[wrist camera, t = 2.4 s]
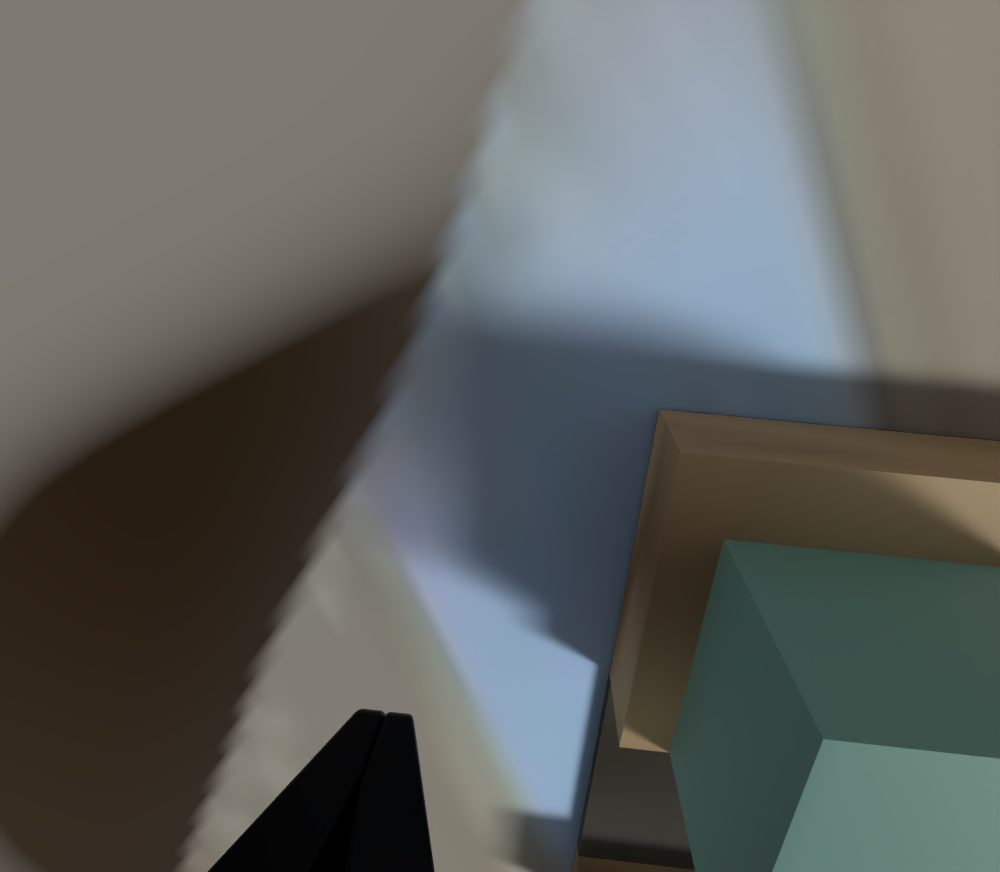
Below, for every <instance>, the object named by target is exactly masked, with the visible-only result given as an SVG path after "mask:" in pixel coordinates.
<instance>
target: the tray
mask: <svg viewBox="0 0 1000 872" xmlns="http://www.w3.org/2000/svg"><path fill="white" fill-rule="evenodd" d="M724 539H726V540H736V541H746V542H756V543H766V544H776V545H786V546H796V547H806V548H816V549H825V550H835V551H845V552H855V553H865V554H875V555H885V556H895V557H905V558H915V559H925V560H935V561H945V562H955V563H965V564H975V565H985V566H995V567H1000V441H992V440H981V439H970V438H960V437H949V436H938V435H928V434H917V433H906V432H896V431H885V430H874V429H864V428H853V427H842V426H831V425H821V424H810V423H799V422H789V421H778V420H767V419H757V418H746V417H735V416H725V415H714V414H703V413H693V412H682V411H671V410H660V409H659V413H658V418H657V424H656V429H655V434H654V440H653V445H652V450H651V456H650V461H649V466H648V472H647V477H646V482H645V488H644V493H643V498H642V504H641V509H640V514H639V520H638V525H637V530H636V536H635V541H634V546H633V552H632V557H631V562H630V567H629V573H628V578H627V583H626V589H625V594H624V599H623V605H622V610H621V615H620V621H619V626H618V631H617V637H616V642H615V647H614V653H613V658H612V663H611V669H610V674H609V679H608V685H607V690H606V695H605V701H604V706H603V711H602V716H601V722H600V727H599V732H598V738H597V743H596V748H595V754H594V759H593V764H592V770H591V775H590V780H589V786H588V791H587V796H586V802H585V807H584V812H583V818H582V823H581V828H580V834H579V839H578V844H577V850H576V855H575V860H574V865H573V871H572V872H695V868H694V864H693V859H692V854H691V850H690V845H689V840H688V836H687V831H686V827H685V822H684V817H683V813H682V808H681V804H680V799H679V794H678V790H677V785H676V781H675V776H674V771H673V767H672V762H671V758H670V753H669V752H670V748H671V745H672V741H673V737H674V733H675V729H676V725H677V721H678V717H679V713H680V709H681V705H682V701H683V697H684V693H685V689H686V686H687V682H688V678H689V674H690V670H691V666H692V662H693V658H694V654H695V650H696V646H697V642H698V638H699V634H700V630H701V626H702V623H703V619H704V615H705V611H706V607H707V603H708V599H709V595H710V591H711V587H712V583H713V579H714V575H715V571H716V567H717V563H718V560H719V556H720V552H721V548H722V544H723V540H724Z"/></svg>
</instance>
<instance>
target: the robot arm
mask: <svg viewBox="0 0 1000 872" xmlns="http://www.w3.org/2000/svg"><path fill="white" fill-rule="evenodd" d="M208 872H435V871H434V864H433V857H432V850H431V843H430V835H429V828H428V821H427V814H426V806H425V799H424V792H423V785H422V778H421V770H420V763H419V756H418V749H417V741H416V734H415V727H414V720H413V717H412V715H410V714H405V713H396V712H389V713H387V714H386V715H385V713H384V712H382V711H378V710H369V709H360V710H358V711H356V712H355V713H354V714H353V716H352V717H351V718H350V719H349V720H348V721H347V722H346V723H345V724H344V725H343V726H342V727H341V728H340V730H339V731H338V732H337V733H336V734H335V735H334V736H333V737H332V738H331V739H330V740H329V741H328V742H327V744H326V745H325V746H324V747H323V748H322V749H321V750H320V751H319V752H318V753H317V754H316V755H315V756H314V758H313V759H312V760H311V761H310V762H309V763H308V764H307V765H306V766H305V767H304V768H303V769H302V770H301V772H300V773H299V774H298V775H297V776H296V777H295V778H294V779H293V780H292V781H291V782H290V783H289V785H288V786H287V787H286V788H285V789H284V790H283V791H282V792H281V793H280V794H279V795H278V796H277V797H276V799H275V800H274V801H273V802H272V803H271V804H270V805H269V806H268V807H267V808H266V809H265V810H264V811H263V813H262V814H261V815H260V816H259V817H258V818H257V819H256V820H255V821H254V822H253V823H252V824H251V825H250V827H249V828H248V829H247V830H246V831H245V832H244V833H243V834H242V835H241V836H240V837H239V838H238V839H237V841H236V842H235V843H234V844H233V845H232V846H231V847H230V848H229V849H228V850H227V851H226V852H225V854H224V855H223V856H222V857H221V858H220V859H219V860H218V861H217V862H216V863H215V864H214V865H213V866H212V868H211V869H210V870H209V871H208Z"/></svg>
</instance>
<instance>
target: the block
mask: <svg viewBox="0 0 1000 872" xmlns="http://www.w3.org/2000/svg"><path fill="white" fill-rule="evenodd" d="M669 753H670V758H671V762H672V767H673V771H674V776H675V781H676V785H677V790H678V794H679V799H680V804H681V808H682V813H683V817H684V822H685V827H686V831H687V836H688V840H689V845H690V850H691V854H692V859H693V864H694V868H695V872H1000V567H995V566H985V565H975V564H965V563H955V562H945V561H935V560H925V559H915V558H905V557H895V556H885V555H875V554H865V553H855V552H845V551H835V550H825V549H816V548H806V547H796V546H786V545H776V544H766V543H756V542H746V541H736V540H726V539H724V540H723V544H722V548H721V552H720V556H719V560H718V563H717V567H716V571H715V575H714V579H713V583H712V587H711V591H710V595H709V599H708V603H707V607H706V611H705V615H704V619H703V623H702V626H701V630H700V634H699V638H698V642H697V646H696V650H695V654H694V658H693V662H692V666H691V670H690V674H689V678H688V682H687V686H686V689H685V693H684V697H683V701H682V705H681V709H680V713H679V717H678V721H677V725H676V729H675V733H674V737H673V741H672V745H671V748H670V752H669Z"/></svg>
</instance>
